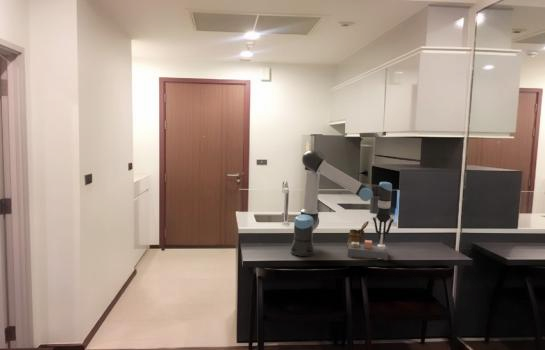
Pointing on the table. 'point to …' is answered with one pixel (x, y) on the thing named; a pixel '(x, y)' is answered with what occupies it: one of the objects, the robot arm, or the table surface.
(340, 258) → the table surface
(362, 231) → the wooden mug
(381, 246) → the white key
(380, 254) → the key console
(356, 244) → the birch key
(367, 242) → the terracotta key
